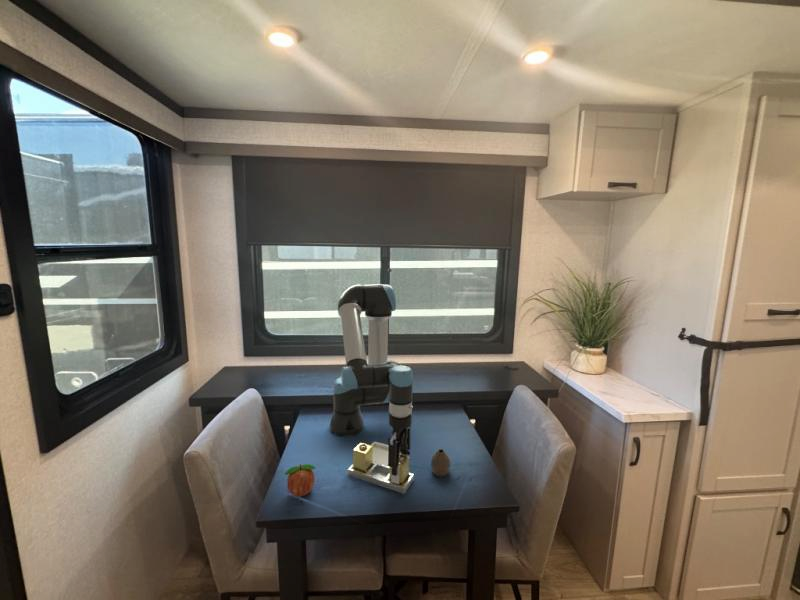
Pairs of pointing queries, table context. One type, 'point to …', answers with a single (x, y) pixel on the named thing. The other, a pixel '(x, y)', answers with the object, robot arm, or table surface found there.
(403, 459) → the knobbed block
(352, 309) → the robot arm
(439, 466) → the vase
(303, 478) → the fruit
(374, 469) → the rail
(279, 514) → the table surface
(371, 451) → the brass block with knob
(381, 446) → the tray
